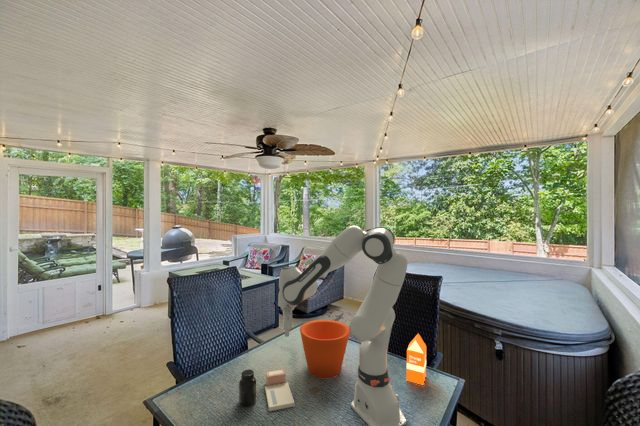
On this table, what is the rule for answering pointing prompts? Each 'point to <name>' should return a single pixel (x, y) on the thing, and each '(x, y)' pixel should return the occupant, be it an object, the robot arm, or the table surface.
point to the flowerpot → (324, 346)
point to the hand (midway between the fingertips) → (286, 331)
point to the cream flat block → (279, 396)
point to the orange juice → (416, 361)
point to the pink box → (275, 377)
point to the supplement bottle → (247, 389)
